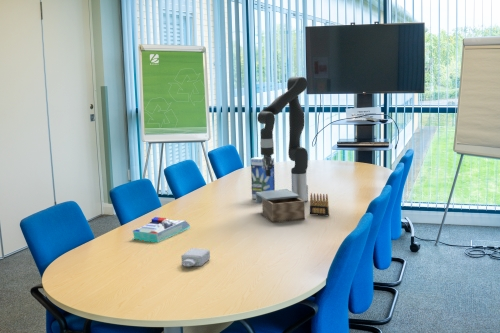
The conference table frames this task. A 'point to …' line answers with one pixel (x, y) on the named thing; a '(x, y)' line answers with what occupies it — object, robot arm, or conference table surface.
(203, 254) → the charger
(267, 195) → the box lid
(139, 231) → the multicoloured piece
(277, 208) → the walnut box
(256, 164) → the string lights box
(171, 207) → the conference table surface
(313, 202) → the ammunition clip
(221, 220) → the conference table surface
